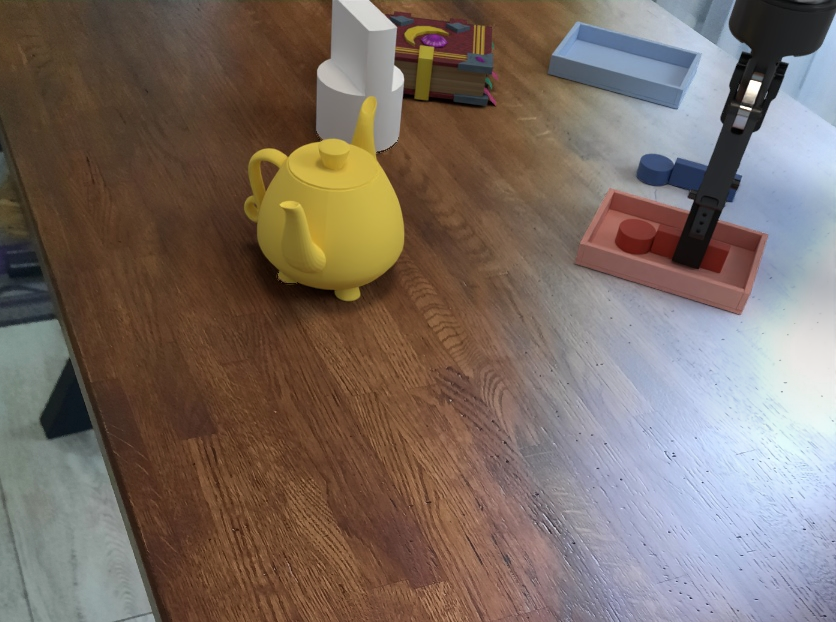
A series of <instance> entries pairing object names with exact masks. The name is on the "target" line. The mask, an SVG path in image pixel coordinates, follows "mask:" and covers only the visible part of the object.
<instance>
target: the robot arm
mask: <svg viewBox="0 0 836 622" xmlns="http://www.w3.org/2000/svg"><path fill="white" fill-rule="evenodd" d="M835 16H836V0H735V1H734V4H733V7H732V10H731V13H730V15H729V19H728V29H729V32H730V34H731V35H732V36H733V38H735V40H737V41H738V42H739V43H740V44H745V45H746V46H747V47H748V48H749V49H750V52H747V51H743V50H742V51H741V53H740V55H739V58H738V60H737V62H736V64H735V67H734V69H733V73H732V75H731V78H730V81H729V84H728V87H729V92H728V95H727V97H726V100H725V103H724V106H723V109H722V112H721V114H720V117H719V120H720V122H721V124H722V127H721V129H720V132H719V134H718V136H717V137H718V138H717V140H716V143H715V146H714V148H713V151H712V154H711V156H710V159H709V161H708V165H707V166H708V167H707V170H706V171H705V174H704V178H703V181H702V183H701V184H700V187H699V189H698V190H695V189H691V190H689V192H688V195H687V199H689V200H692V201H693V202H692V204H691V208H690V210H689V211H690V212H689V215H688V218H687V220H686V223H685V226H684V228H683V231H682V234H681V236H680V239H679V242H678V244H677V247H676V250H675V253H674V255H673V258H672V261H673V262H676V263H680V264H683V265H686V266H689V267H693V268H696V269H699V268H700V265H701V263H702V260H703V258H704V255H705V253H706V250H707V248H708V245H709V243H710V240H711V238H712V235H713V233H714V230H715V228H716V225H717V223H718V220H720V218H721V215H722V212H723V210H724V208H725V207H726V204H727V202H728V201H727V197H728V195H729V190H730V189H734V190H737V191H738V190H739V188H740V185H741V182H742V179H741V180H739V179H735V178H734V177H735V175H736V174H737V172H738V170H739V168H740V166H741V163H742V160H743V157H744V155H745V153H746V150H747V147H748V145H749V144H750V140H751V137H752V135H753V133H756V132H758V131H759V130H760V129H761V127H762V125H763V122H764V120H765V118H766V115H767V113H768V110H769V107H770V105H771V104H772V101H774V100H775V99H776V98H777V97H778V94H779V91H780V89H781V87H782V84H783V82H784V79H785V75H786V72H787V70H788V67H789V65H790V63H789V62H785V61H782V60H783V58H786V57H794V58H798V57H799V58H801V57H806V56H809V55H811V54H814V53H815V52H817V51H818V50H819V49H821V47H822V45H824V42H825V40H826V37H827V35H828V33H829V31H830V28H831V25H832V23H833V21H834V19H835Z"/></svg>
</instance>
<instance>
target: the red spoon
mask: <svg viewBox="0 0 836 622" xmlns="http://www.w3.org/2000/svg"><path fill="white" fill-rule="evenodd" d="M681 234H682V231H681V230H678V229H674V228H671V227H668V226H664V225H661V224H660V225H659V227H658V229H657V232H656V229H655V228H654V227H653V226H652V225H651V224H650V223H648V222H646V221H643V220H639V219H627V220H624V221H622V222H621V223H620V225H619V228H618V232H617V235H616V238H615V243H616V245H617V246H618V247H619V248H620V249H621V250H623V251H625V252H627V253H631V254H645V253H647V252H649V251H650V252H651V253H654V254H658V255H661V256H664V257H668V258H671V259H672V258H673V255H674V253H675V250H676V247H677V244H678V242H679V239H680V236H681ZM730 248H731V245H728V244H725V243H721V242H718V241H715V240H710V243H709V245H708V248H707V250H706V253H705V255H704V258H703V260H702V263H701V265H700V268H704V269H707V270H710V271H714V272H717V273H721V270H722V268H723V265H724V263H725V261H726V258H727V256H728V254H729V251H730Z"/></svg>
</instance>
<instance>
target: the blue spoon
mask: <svg viewBox="0 0 836 622" xmlns="http://www.w3.org/2000/svg"><path fill="white" fill-rule="evenodd" d="M707 167H708V165H707V164H703V163H700V162H696V161H692V160H688V159H686V158H681V157H679V156H678V157H676V160H675V162H673V160H672V159H671V158H669V157H667V156H665V155H663V154H659V153H646V154H643V155H642V156H641V157H640V159H639V162H638V166H637V169H636V173H635V175H636V177H637V178H638V180H639V181H641V182H643V183H645V184H647V185H650V186H664V185H667V184H668V185H671V186H674V187H678V188H681V189H685V190H689V191H690V190H691V189H695V190H698V189H699V187H700V184H701V183H702V181H703V178H704V174H705V171H706V170H707ZM734 178H735V179H739V180H741V181H742V179H743V175H742V174H738V173H736V175H735V177H734ZM737 192H738V190H734V189H730V190H729V195H728V197H727V202H731V203H733V201H734V199H735V196H736V194H737Z"/></svg>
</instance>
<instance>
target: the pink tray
mask: <svg viewBox="0 0 836 622" xmlns="http://www.w3.org/2000/svg"><path fill="white" fill-rule="evenodd" d="M689 212H690V210H687V209H684V208H681V207H677V206H673V205H670V204H668V203H667V204H666V203H664V202H659V201H657V200H653V199H649V198H647V197H644V196H643V197H642V196H639V195H635V194H631V193H629V192H625V191H622V190H619V189H615V188H612V187H609V188H608V190H607V192H606V194H605V195H604V198H603V199H602V201H601V203H600V205H599V206H598V208H597V211H596V212H595V214H594V216H593V218H592V220H591V222H590V223H589V225H588V227H587V228H586V231H585V233H584V234H583V236H582V237H581V240H580V242H579V245H578V249H577V252H576V255H575V260H574V265H577V266H580V267H584V268H588V269H591V270H594V271H597V272H600V273H604V274H606V275H610V276H613V277H617V278H620V279H623V280H627V281H630V282H633V283H636V284H640V285H642V286H645V287H649V288H653V289H655V290H658V291H662V292H665V293H669V294H672V295H674V296H675V295H676V296H679V297H682V298H685V299H688V300H691V301H695V302H697V303H702V304H705V305H708V306H710V307H714V308H717V309H720V310H724V311H727V312H729V313H730V312H731V313H734V314H737V315H742V313H743V311H744V309H745V307H746V305H747V303H748V301H749V298H750V296H751V292H752V290H753V287H754V283H755V280H756V277H757V274H758V270H759V267H760V264H761V261H762V258H763V254H764V251H765V248H766V245H767V241H768V239H769V233H767V232H763V231H759V230H756V229H753V228H749V227H746V226H742V225H739V224H736V223H732V222H728V221H725V220H722V219H719V220H718V223H717V225H716V228H715V230H714V233H713V235H712V238H711V240H715V241H718V242H721V243H725V244H728V245H731V248H730V251H729V254H728V256H727V258H726V261H725V263H724V265H723V268H722V270H721V273H717V272H714V271H710V270H707V269H704V268H699V269H696V268H693V267H689V266H686V265H683V264H680V263H676V262H673V261H672V259H671V258H668V257H664V256H661V255H658V254H654V253H651V252H650V251H649V252H647V253H645V254H631V253H627V252H625V251H623V250H621V249H620V248H619V247H618V246H617V245H616V243H615V238H616V235H617V232H618V228H619V225H620V223H621V222H622V221H624V220H627V219H639V220H643V221H646V222H648V223H650V224H651V225H652V226H653V227H654V228H655V229H656V232H657V229H658V227H659V225H660V224H661V225H664V226H668V227H671V228H674V229H678V230H681V231H683V228H684V226H685V223H686V220H687V218H688V215H689Z"/></svg>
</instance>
